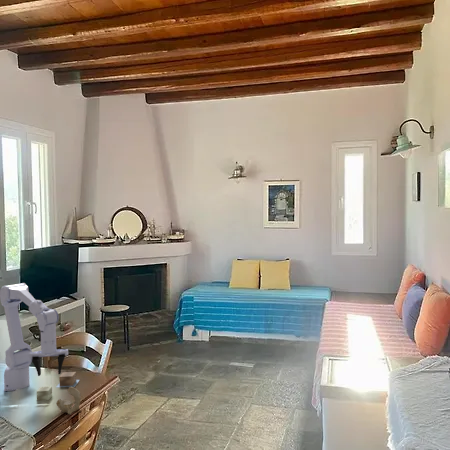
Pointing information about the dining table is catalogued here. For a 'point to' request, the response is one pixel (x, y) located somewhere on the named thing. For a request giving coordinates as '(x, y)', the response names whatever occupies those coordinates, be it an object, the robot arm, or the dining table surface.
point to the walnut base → (67, 378)
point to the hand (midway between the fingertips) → (49, 374)
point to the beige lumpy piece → (67, 404)
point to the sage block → (44, 393)
